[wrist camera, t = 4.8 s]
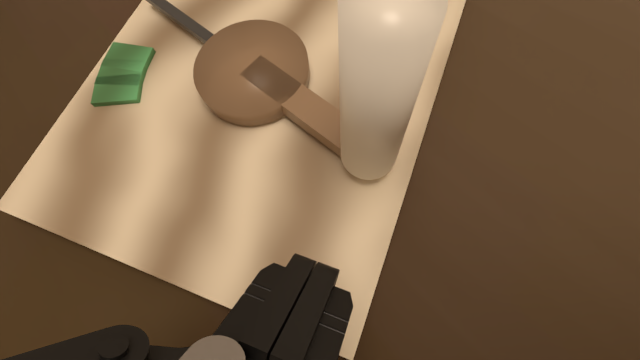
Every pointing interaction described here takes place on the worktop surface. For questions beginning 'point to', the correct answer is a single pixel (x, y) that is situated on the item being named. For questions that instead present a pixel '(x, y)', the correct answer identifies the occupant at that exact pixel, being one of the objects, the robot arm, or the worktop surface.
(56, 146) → the striped cutting board
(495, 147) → the worktop surface
